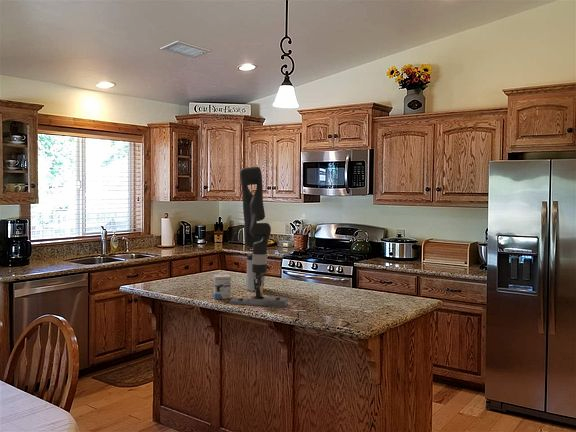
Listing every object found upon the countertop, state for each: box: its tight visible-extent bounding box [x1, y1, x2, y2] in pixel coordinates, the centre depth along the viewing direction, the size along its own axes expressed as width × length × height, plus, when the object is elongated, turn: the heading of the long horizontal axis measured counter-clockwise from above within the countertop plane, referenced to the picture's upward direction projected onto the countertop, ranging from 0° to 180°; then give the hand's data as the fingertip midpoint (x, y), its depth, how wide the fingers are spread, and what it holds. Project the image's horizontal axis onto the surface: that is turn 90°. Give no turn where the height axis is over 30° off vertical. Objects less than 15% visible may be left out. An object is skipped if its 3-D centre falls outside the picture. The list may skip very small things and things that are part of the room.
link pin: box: [254, 282, 264, 299], centre depth 261 cm, size 4×4×10 cm
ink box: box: [212, 274, 232, 300], centre depth 274 cm, size 8×5×12 cm, turn 105°
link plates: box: [229, 295, 289, 308], centre depth 261 cm, size 7×28×4 cm, turn 80°
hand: (259, 296), depth 261 cm, fingers open, 3 cm apart
